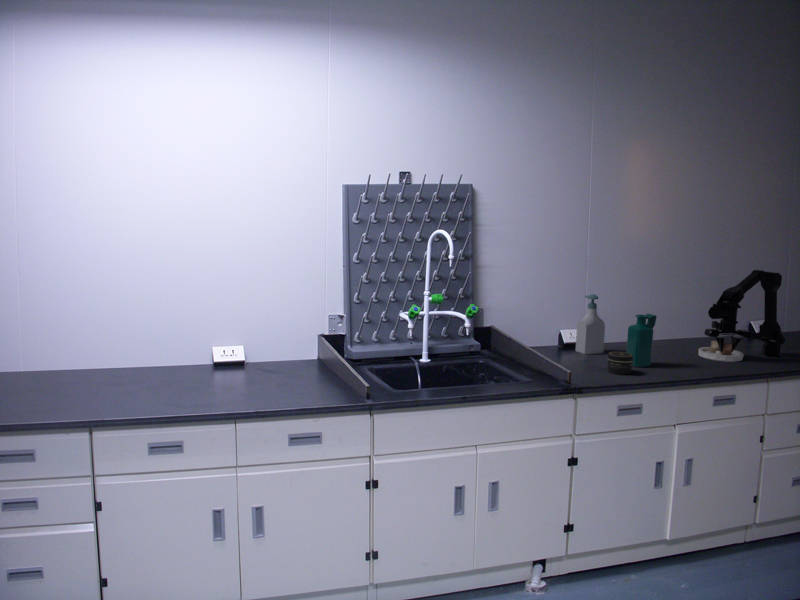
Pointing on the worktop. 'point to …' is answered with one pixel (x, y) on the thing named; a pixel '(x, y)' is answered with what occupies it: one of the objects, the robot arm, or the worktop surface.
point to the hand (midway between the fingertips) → (726, 351)
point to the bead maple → (714, 346)
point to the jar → (619, 363)
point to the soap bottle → (590, 331)
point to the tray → (720, 355)
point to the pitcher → (641, 340)
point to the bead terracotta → (727, 349)
